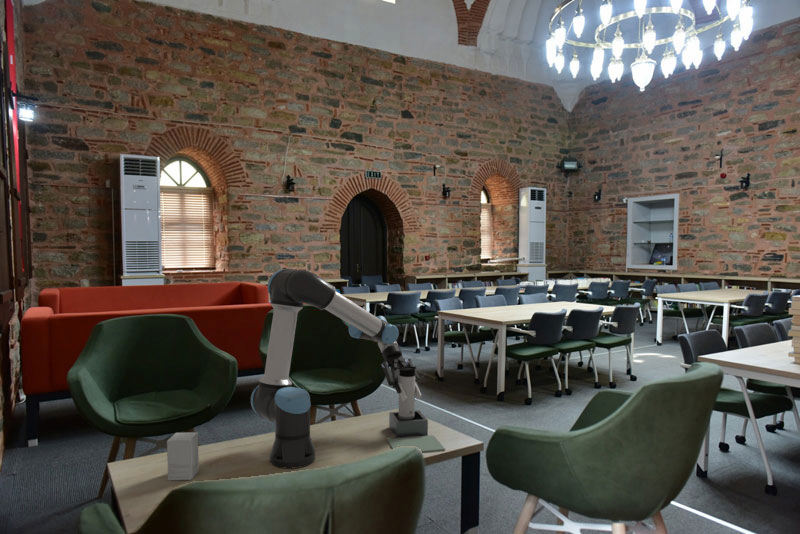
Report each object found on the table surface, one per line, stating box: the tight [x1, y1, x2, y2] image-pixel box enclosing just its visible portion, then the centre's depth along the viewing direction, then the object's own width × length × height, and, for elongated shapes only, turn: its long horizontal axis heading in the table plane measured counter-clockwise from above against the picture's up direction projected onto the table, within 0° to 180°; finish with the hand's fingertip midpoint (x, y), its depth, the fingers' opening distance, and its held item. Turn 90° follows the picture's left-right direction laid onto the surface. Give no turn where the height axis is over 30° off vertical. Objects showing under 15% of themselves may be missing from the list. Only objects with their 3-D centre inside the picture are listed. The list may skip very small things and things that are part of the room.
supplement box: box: [166, 431, 200, 481], centre depth 165 cm, size 7×7×13 cm
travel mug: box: [398, 366, 417, 420], centre depth 205 cm, size 6×7×20 cm
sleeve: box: [388, 410, 429, 438], centre depth 206 cm, size 12×12×6 cm
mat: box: [387, 434, 446, 453], centre depth 191 cm, size 18×14×1 cm
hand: (412, 398), depth 202 cm, fingers closed on travel mug, 6 cm apart
